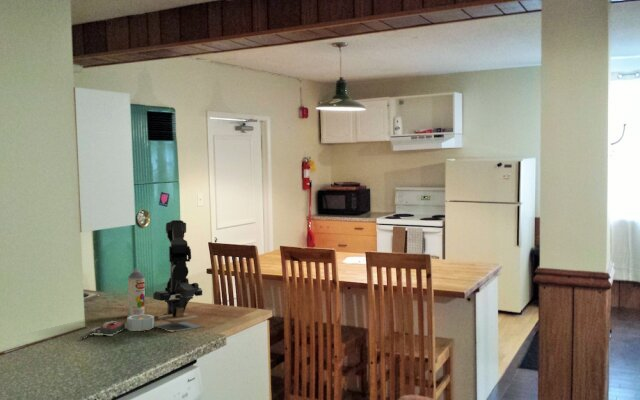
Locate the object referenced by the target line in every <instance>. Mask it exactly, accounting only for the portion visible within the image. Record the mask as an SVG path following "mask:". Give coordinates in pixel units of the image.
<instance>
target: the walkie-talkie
mask: <svg viewBox="0 0 640 400" xmlns="http://www.w3.org/2000/svg"><path fill="white" fill-rule="evenodd" d="M125 327H126V324H125V322H123V321H116V320H111V321H106V322H104V323H102V324H101V326H98V327H97V326H96V327H94V328H93V329H92V328H91V329H90V330H89V333H86V334H85V335H82V336H80V339H81V338H84V337H86V336H88V335H90V334H92V333H103V334H113V333H116V332H117V331H120V330H122V329H124V328H125ZM125 329H126V328H125ZM90 336H91V335H90ZM88 337H89V336H88ZM86 338H87V337H86ZM84 339H85V338H84Z"/></svg>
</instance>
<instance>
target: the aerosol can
mask: <svg viewBox="0 0 640 400" xmlns="http://www.w3.org/2000/svg"><path fill="white" fill-rule="evenodd" d="M145 277H146V276H145V275H144V274H143V273H142V272H141V271H140V270H139V268H134V271H132V273H130V275H128V277H127V313H126V314H127V318H128V317H129V316H133V315H145V300H146V299H145V296H146V295H145V288H146V286H145V285H146V282H145V281H146V278H145Z"/></svg>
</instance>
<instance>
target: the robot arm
mask: <svg viewBox="0 0 640 400" xmlns="http://www.w3.org/2000/svg"><path fill="white" fill-rule="evenodd" d="M186 233H187V223H186V222H185V221H184V220H181V219H180V220H179V219H173V220H170V221H169V222H167V223H165V234H166V238H167V239H168V241H169V243H170V246H169V247H168V261H169V263H170V270H169V271H170V273H169V274H170V277H169V278H168V281H167V282H166V287H164V290H158V291H156V290H155V291H154V292H153V300H156V301H160V302H161V301H163V302H165V303H167V304H166V305H167V312H166V313H164V314H163V315H169V314H173V316H176V307H179V306H180V307H183V308H184V312H185V311H186V308H187V305H188V303H189V302H190V301H191V300H192V299H194V296H195V297H199V296H203V289H202V288H200V287H199V283H198V282H193V283H189V282H190V281H189V278H188V277H187V276H188V275H189V268H188V267H187V262H188V263H189V262H191V260H192V249H191V248H190V247H191V246H190V245H188V241H187V240H186V239H184V238H185V234H186Z"/></svg>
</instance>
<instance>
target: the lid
mask: <svg viewBox="0 0 640 400" xmlns="http://www.w3.org/2000/svg"><path fill="white" fill-rule="evenodd" d="M157 320H161V321H164V322H166V323H173V324H174V323H180V322H190V321H195V320H199V316H197V315H193V314H190V313H186V312H185V311H184V308H183V307H180V306H179V307H176V316H173V314H169V315H164V314H163V315H158V316H157Z"/></svg>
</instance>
